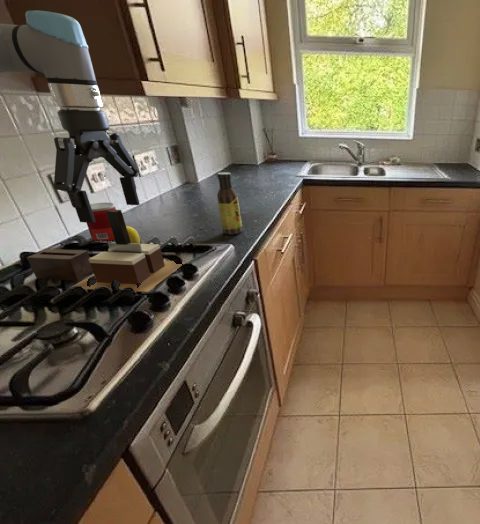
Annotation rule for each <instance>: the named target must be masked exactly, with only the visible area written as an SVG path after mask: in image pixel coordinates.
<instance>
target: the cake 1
mask: <svg viewBox="0 0 480 524" xmlns="http://www.w3.org/2000/svg"><path fill="white" fill-rule="evenodd" d="M89 262H90V265H91V267H92V270H93V272H92V274H94V276H95V278H96V281H97V282H100V283H111V282H112V281H113V280H116V281H119V282H120V283H121V284H137V283H138V284H139V283H141V282H143V281H144V280H146V279H147V278H148V277H150V276H151V275H150V271H149V268H148V265H147V261H146V258H145V254H144V253H122V252H109V251H101V252H99V253H98V254H96V255H93V256H92V257H90V259H89Z"/></svg>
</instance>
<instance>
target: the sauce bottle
mask: <svg viewBox="0 0 480 524" xmlns="http://www.w3.org/2000/svg"><path fill="white" fill-rule="evenodd" d="M216 176H217V179H218V184H219V189H218V191H217V195H216V197H217V204H218V210H219V216H220V223H221V228H222V232H223V234H225V235H231V236H232V235H237V234H240V233H242V231H243V222H242V217H241V209H240V204H239V196H238V193H237V192H236V190H235V189H234V188H233V184H232V173H231V172H226V171H225V172H217V173H216Z"/></svg>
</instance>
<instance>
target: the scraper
mask: <svg viewBox="0 0 480 524" xmlns="http://www.w3.org/2000/svg"><path fill="white" fill-rule="evenodd" d="M106 214H107V217H108V220H109V223H110V226H111V229H112V232H113V235H114V238H115V241H114V242H111V243H107V247H108V249H110V252H122V253H143V252H142V249H141V246H140V244H141V243H140V244H130V243H131V241H130V238H129V234H128V231H127V228H126V226H127V225H126V221H125V217H124V215H123V210H121V209H116V210H108V211H106Z"/></svg>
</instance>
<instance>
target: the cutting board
mask: <svg viewBox="0 0 480 524" xmlns="http://www.w3.org/2000/svg"><path fill="white" fill-rule="evenodd" d="M174 261H175V260H164V264H165V266H164V267H162V268H161V269H160V270H158V271H157V272H155V273H150V275H151V276H150V277H148V278H147V279H146V280H144V281H143V282H142V283H141V285H140V286H139V287H138V288H137V285H136V284H121V283H120V286H119V289H123V288H126V287H131V288H133V289H134V291H133V292H141V293H142V292H143V293H149V291H151V290H152V289H153V288H155V287H156V286H157V285H158V284H160V283H161V282H163V281H164V280H165V279H166V278H168V277H169V276H170V275H171V274H173V273H174V272H175V271H177V270H178V269H179V268H180V267H182V266H183V265H184V264H185V263H187V261H182V264H183V265H182V264H176V263H175V262H174ZM92 276H94V273H92V275H91V274H90V276H87V277H86V278H84V279H81V281H79V282H77V283H76V284H73V285H71V287H74V286H81V287H82V288H83V289H82V290H95V288H97V287H100V286H106V287H108V288H110V289H111V283H100V282H96V283H95V284H94V285H91V286H90V287H89V286H87V281H88V279H89V278H90V277H92ZM71 287H69V289H72V288H71Z"/></svg>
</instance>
